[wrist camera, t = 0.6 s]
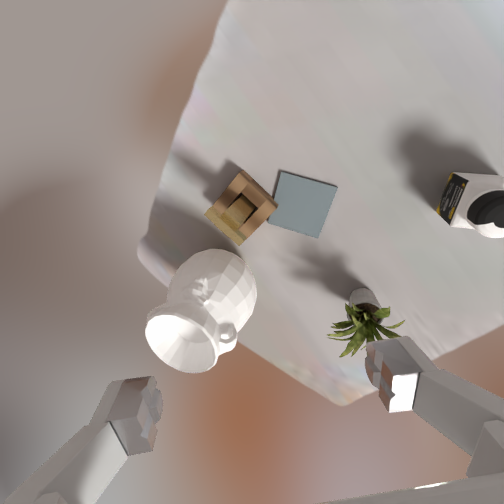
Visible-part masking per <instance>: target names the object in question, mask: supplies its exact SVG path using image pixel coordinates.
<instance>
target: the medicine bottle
mask: <svg viewBox="0 0 504 504" xmlns="http://www.w3.org/2000/svg"><path fill="white" fill-rule="evenodd" d="M436 212H437V213H438V214H439V215H440V216H441V217H442V218H443V219H444V220H445V221H446V222H447V223H448V224H449V225H450V226H452V227H460V228H469V229H476V230H477V231H478V232H479V233H480V234H482V235H484V236H486V237H490V238H502V237H504V177H502V176H500V175H487V174H474V173H460V172H452V173H451V174H450V176H449V179H448V182H447V184H446V187H445V190H444V192H443V195H442V197H441V200H440V203H439V205H438V208H437V210H436Z"/></svg>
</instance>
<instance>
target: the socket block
mask: <svg viewBox="0 0 504 504" xmlns="http://www.w3.org/2000/svg"><path fill="white" fill-rule="evenodd" d="M241 193H243V194H244V195H245V196H246V197H247V198H248V199H249V200H250V201H251V202H252V203H253V204H254V205H255V206H256V207H258V209H257V210H256V211H255V212H254V213H253V214H252V215H251V216H250V218H249V219H247V218H246V220H245V221H244V222H243V223H242V224H241V226H240V227H239V228H238V230H239V231H241V232H242V233H243V234H244V235H245V236H246V237H247V238H248V237H249V236H250V235H251V234H252V233H253V232H254V231H255V230H256V229H257V228H258V227H259V226H260V225H261V224H262V223H263V222H264V221H265V220H266V219H267V218H268V217H269V216H270V215H271V214H272V213H273V212H274V211H275V210H276V209H277V207H278V206H279V204H277V203H276V202H275V201H274V198H273V197H272V196H270V195H269V194H268V193H267V192H266V191H265V190H264V189H263V188H262V187H261V186H260V185H259V184H258V183H257V182H256V181H255V180H254V179H253V178H251V177H250V176H249V175H248V174H247V173H246V172H245V171H244V170H243V171H241V172H239V173H238V175H237V176H236V177H235V178H234V180H233V181H232V182H231V183H230V185H229V186H228V187H227V188H226V190H225V191H224V192H223V193H222V195H221V196H220V197H219V198H218V200H217V201H216V202H215V203H214V205H213V207H214V208H215V209H216V210H217V211H218V212H220V213H221V214H223V213H224V212H225V211H226V210H227V209H228V208H229V207H230V206H231V205H232V203H233V202H234V201H235V200H236V198H237V197H238V196H239V195H240V194H241ZM247 238H246V239H247ZM246 239H245V240H246Z"/></svg>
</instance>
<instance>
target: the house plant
mask: <svg viewBox="0 0 504 504" xmlns="http://www.w3.org/2000/svg"><path fill="white" fill-rule="evenodd" d="M345 304H346V303H345ZM345 309H346V311H347V318H348V320H349V321H344V322H339V323H335V324H334V323H333V324H334V325H335V326H336V327H335V326H333V327H332V328H336V329H344V328H347V327H350V326H352V325H354V326H352V327H351V328H349V329H347V330H344V331H333V332H335V333H337V334H328V336H334V337H341V336H346V335H349V334H352V333H354V332H355V331H356V332H355V333H354V335H353V336H352V337H350V338H347V339H335V338H331V339H335V340H341V341H346V340H351V341H350V342H349V343H348V345H347V348H346V350H345V351H344V352H343V353H342V354H341V355H340V357H343V356H345V355H347V354H349V353H350V352H351V351H352V350H353V349H354V350H353V352H352V356H353V355H354V354H355V353H356V352H357V350H358V349H359V348H360V346H361V345H362V344H363V342H364V341H365V339H367V343H368V342H372V341H375V340H374V335H375V337H376V339H377V340H384V339H382V337H381V336H380V334H379V332H378V331H377V329H378V330H379V331H381V332H382V333H383V334H384V335H386V336H387V337H388V338H397V337H401V336H399V335H398V334H396V333H394V332H392V331H389V330H387V329H385V328H384V327H385V326H384V327H382V325H380V324H381V323H382V322H383V320H384V318H385V317H388V316H389V315H390V307H389V308H381V306H380V304H379V302H378V300H377V299H376V297H375V295H374V293H373V292H372V291H371V290H369V289H366V288H359V289H356V290H354V291H353V292H352V293H351V295H350V300H349V306H348V305H347V304H346V305H345ZM404 321H405V320H404ZM404 321H402V322H400V323H398V324H396V325H394V326H390V327H387V328H397V327H398V326H400V325H401V324H402V323H403V322H404ZM376 328H377V329H376ZM365 347H366V346H364V347H363V348H365ZM363 348H362V349H363ZM362 349H361V350H362ZM368 355H369V354H368V353H367V356H368ZM352 356H351V357H352Z"/></svg>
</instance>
